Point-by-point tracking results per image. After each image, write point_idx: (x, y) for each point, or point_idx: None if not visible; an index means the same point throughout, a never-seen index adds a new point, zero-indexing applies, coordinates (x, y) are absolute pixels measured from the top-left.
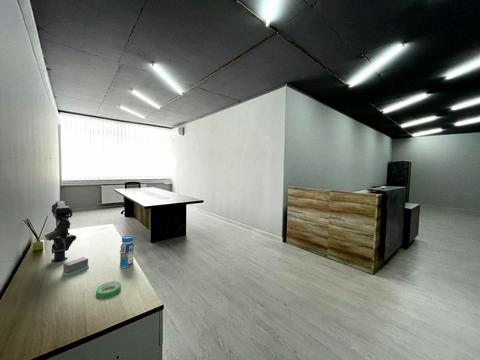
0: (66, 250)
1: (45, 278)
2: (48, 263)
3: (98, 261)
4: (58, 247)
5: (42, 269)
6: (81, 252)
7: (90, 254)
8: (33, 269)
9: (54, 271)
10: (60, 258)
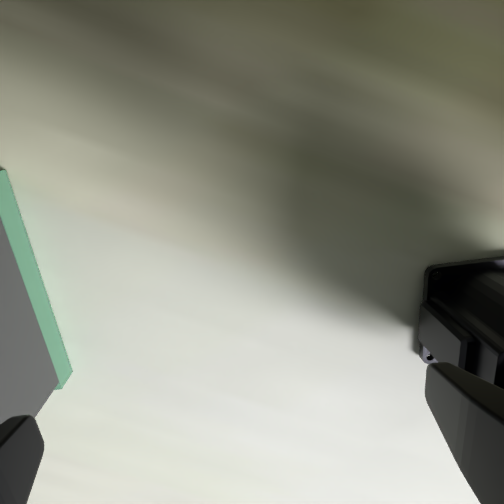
0: (16, 435)
1: (35, 7)
2: (479, 206)
3: (87, 478)
4: (432, 403)
5: (362, 99)
6: (454, 475)
7: (328, 498)
8: (461, 36)
9: (178, 155)
10: (434, 313)
